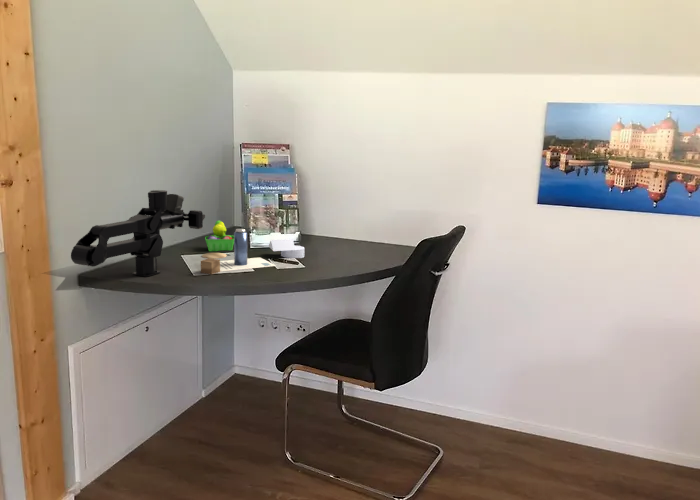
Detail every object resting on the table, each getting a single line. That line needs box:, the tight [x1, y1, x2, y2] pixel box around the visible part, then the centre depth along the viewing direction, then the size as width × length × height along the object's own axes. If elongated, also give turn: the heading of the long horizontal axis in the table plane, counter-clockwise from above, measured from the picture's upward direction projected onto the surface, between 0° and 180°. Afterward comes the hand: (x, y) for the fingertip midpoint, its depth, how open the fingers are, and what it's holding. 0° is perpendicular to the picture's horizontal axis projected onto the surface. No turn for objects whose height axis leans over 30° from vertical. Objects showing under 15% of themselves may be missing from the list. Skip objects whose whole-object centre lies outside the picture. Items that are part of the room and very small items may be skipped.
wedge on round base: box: [268, 238, 305, 259], centre depth 239 cm, size 9×7×13 cm
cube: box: [200, 258, 221, 275], centre depth 211 cm, size 4×4×4 cm
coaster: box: [201, 252, 227, 260], centre depth 235 cm, size 9×9×1 cm
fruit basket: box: [204, 220, 234, 252], centre depth 247 cm, size 11×9×11 cm
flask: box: [233, 228, 248, 266], centre depth 222 cm, size 5×5×12 cm
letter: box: [220, 257, 277, 272], centre depth 224 cm, size 21×15×1 cm
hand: (194, 214), depth 226 cm, fingers open, 9 cm apart
